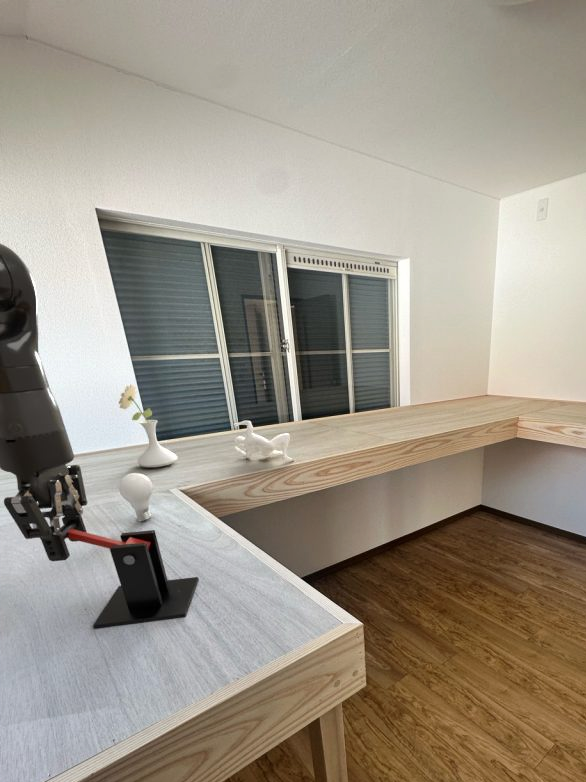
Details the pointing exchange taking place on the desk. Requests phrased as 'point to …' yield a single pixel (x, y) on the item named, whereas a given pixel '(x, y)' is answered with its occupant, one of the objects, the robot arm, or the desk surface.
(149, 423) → the flower in vase
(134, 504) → the lightbulb
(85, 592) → the desk surface
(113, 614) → the switch base
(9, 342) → the robot arm
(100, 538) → the switch lever
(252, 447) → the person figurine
